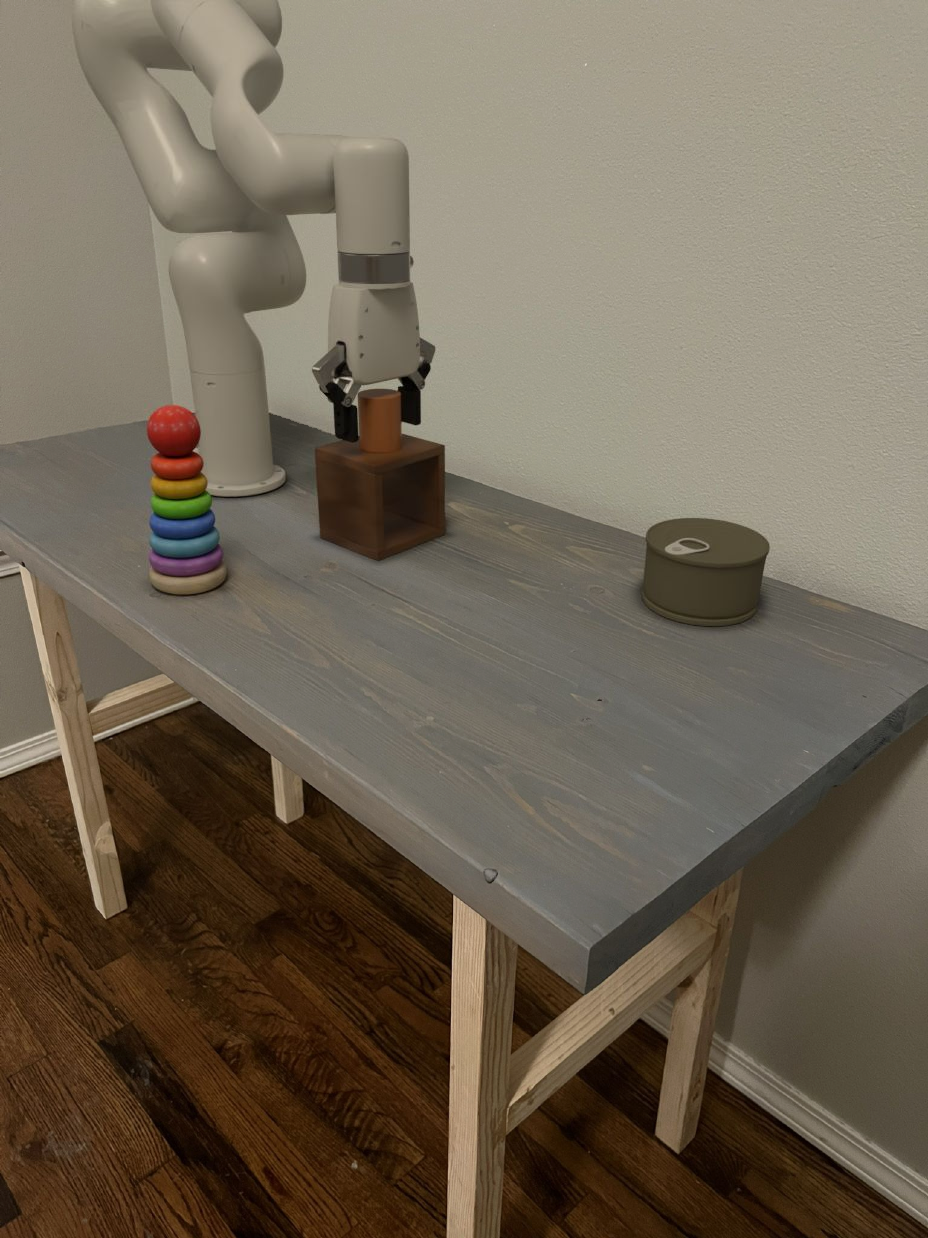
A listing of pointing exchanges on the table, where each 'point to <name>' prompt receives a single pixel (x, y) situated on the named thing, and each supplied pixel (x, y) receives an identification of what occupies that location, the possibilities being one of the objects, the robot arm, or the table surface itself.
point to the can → (703, 571)
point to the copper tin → (380, 420)
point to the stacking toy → (181, 508)
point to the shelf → (381, 496)
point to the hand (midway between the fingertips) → (379, 430)
